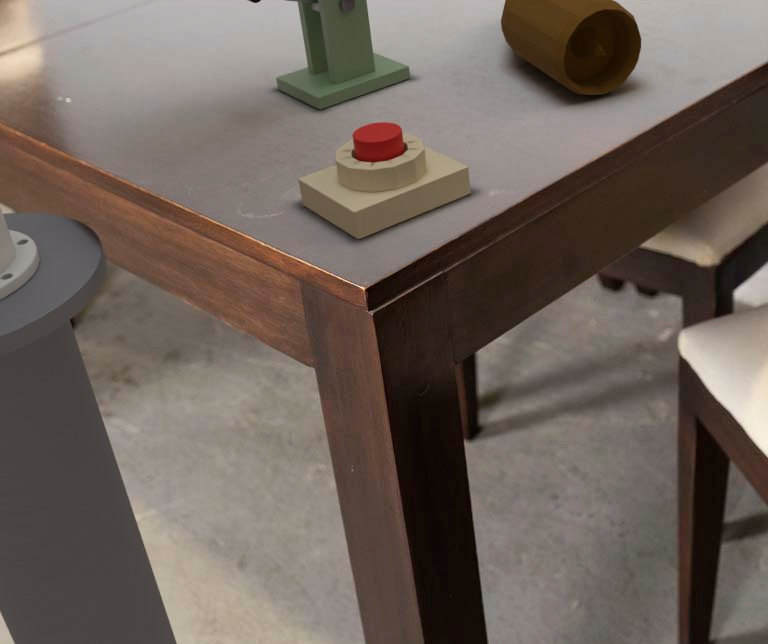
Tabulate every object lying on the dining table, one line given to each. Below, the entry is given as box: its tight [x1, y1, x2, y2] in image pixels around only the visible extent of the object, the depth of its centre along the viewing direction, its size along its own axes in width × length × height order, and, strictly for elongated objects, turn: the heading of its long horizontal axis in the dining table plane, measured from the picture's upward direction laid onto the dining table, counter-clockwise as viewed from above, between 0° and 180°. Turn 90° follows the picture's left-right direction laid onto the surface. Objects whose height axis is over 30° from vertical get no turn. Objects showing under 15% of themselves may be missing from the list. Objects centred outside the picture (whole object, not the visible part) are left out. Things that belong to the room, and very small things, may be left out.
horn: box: [500, 0, 642, 96], centre depth 102 cm, size 8×10×25 cm
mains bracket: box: [275, 0, 411, 110], centre depth 102 cm, size 10×8×10 cm
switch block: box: [298, 132, 471, 240], centre depth 82 cm, size 10×8×4 cm
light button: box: [352, 121, 404, 163], centre depth 81 cm, size 4×4×2 cm
